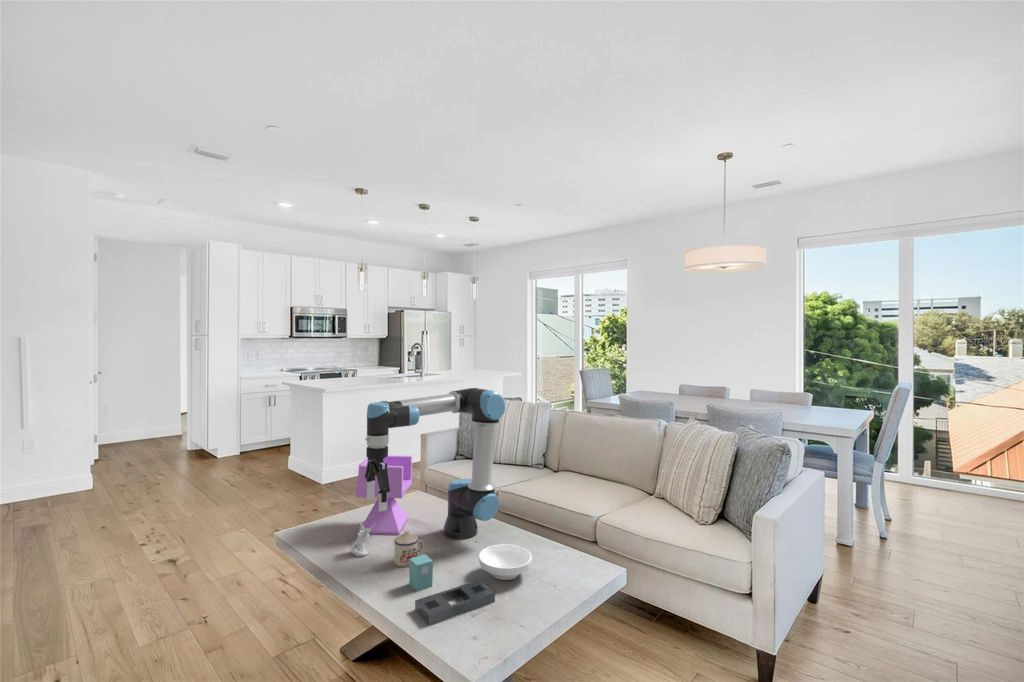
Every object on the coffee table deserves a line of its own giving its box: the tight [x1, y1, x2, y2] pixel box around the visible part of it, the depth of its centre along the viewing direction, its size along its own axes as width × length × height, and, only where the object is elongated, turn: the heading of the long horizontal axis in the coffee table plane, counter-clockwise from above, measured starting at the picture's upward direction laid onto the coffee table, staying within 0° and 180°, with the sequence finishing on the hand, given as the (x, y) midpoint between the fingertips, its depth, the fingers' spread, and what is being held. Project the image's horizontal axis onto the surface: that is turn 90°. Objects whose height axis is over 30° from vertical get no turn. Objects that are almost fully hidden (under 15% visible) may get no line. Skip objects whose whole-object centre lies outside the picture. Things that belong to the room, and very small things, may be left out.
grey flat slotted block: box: [414, 579, 496, 626], centre depth 158 cm, size 24×10×3 cm, turn 125°
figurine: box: [350, 521, 375, 557], centre depth 195 cm, size 11×8×12 cm
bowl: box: [478, 543, 533, 581], centre depth 179 cm, size 20×20×7 cm
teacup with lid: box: [393, 530, 425, 568], centre depth 188 cm, size 12×9×12 cm
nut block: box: [408, 554, 434, 592], centre depth 171 cm, size 6×6×9 cm
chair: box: [355, 454, 413, 536], centre depth 221 cm, size 20×20×30 cm
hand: (376, 504), depth 175 cm, fingers open, 13 cm apart
